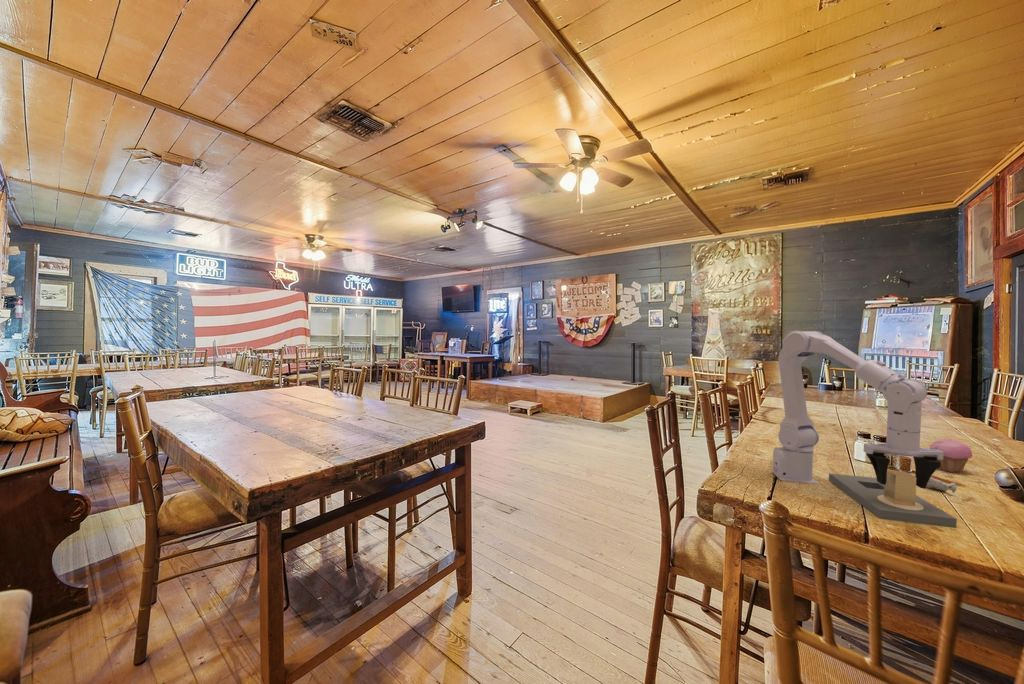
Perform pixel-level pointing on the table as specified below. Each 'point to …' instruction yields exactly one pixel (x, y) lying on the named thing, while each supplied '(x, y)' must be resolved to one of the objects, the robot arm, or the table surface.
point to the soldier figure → (939, 484)
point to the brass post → (900, 488)
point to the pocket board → (873, 500)
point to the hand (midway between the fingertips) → (900, 485)
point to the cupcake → (952, 454)
